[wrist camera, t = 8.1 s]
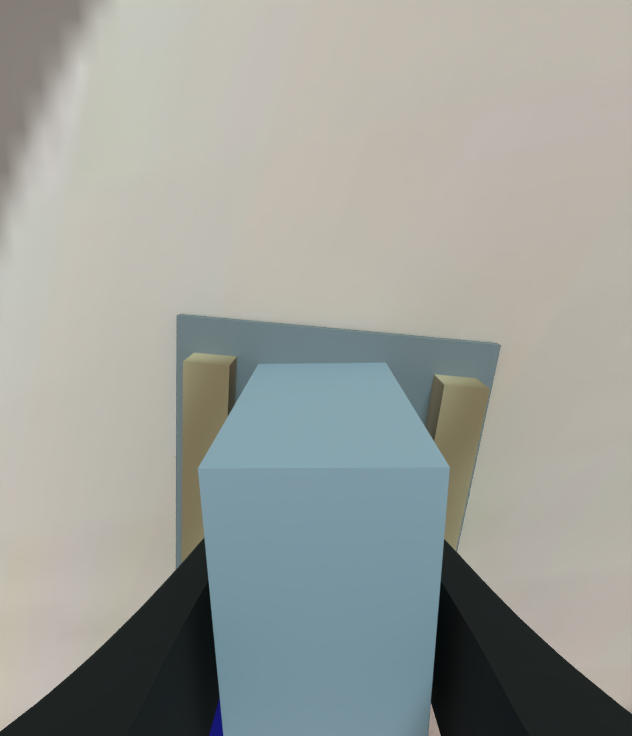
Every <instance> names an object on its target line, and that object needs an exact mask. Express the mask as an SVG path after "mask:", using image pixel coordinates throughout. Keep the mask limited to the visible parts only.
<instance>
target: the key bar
mask: <svg viewBox="0 0 632 736" xmlns="http://www.w3.org/2000/svg"><path fill="white" fill-rule="evenodd" d="M449 472H450V467H449V465H448V463H447V462H446V460H445V459H444V457H443V455H442V454H441V452H440V450H439V449H438V447H437V445H436V444H435V442H434V441H433V439H432V437H431V436H430V434H429V432H428V431H427V429H426V427H425V426H424V424H423V423H422V421H421V419H420V418H419V416H418V414H417V413H416V411H415V409H414V408H413V406H412V405H411V403H410V401H409V400H408V398H407V396H406V395H405V393H404V391H403V390H402V388H401V387H400V385H399V383H398V382H397V380H396V378H395V377H394V375H393V373H392V372H391V370H390V369H389V367H388V365H387V364H386V363H302V364H258V365H257V367H256V369H255V371H254V372H253V374H252V376H251V378H250V379H249V381H248V383H247V384H246V386H245V388H244V390H243V391H242V393H241V395H240V397H239V398H238V400H237V402H236V403H235V405H234V407H233V409H232V410H231V412H230V414H229V416H228V417H227V419H226V421H225V422H224V424H223V426H222V428H221V429H220V431H219V433H218V435H217V436H216V438H215V440H214V441H213V443H212V445H211V447H210V448H209V450H208V452H207V454H206V455H205V457H204V459H203V460H202V462H201V464H200V466H199V467H198V476H199V486H200V496H201V507H202V517H203V528H204V538H205V549H206V559H207V570H208V580H209V590H210V601H211V611H212V622H213V632H214V643H215V653H216V664H217V674H218V685H219V695H220V705H221V716H222V726H223V736H428V730H429V718H430V706H431V693H432V681H433V669H434V656H435V644H436V632H437V620H438V607H439V595H440V583H441V570H442V558H443V546H444V533H445V521H446V509H447V497H448V484H449Z"/></svg>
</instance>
